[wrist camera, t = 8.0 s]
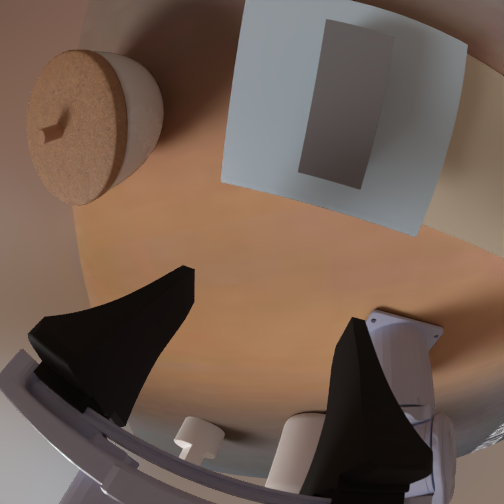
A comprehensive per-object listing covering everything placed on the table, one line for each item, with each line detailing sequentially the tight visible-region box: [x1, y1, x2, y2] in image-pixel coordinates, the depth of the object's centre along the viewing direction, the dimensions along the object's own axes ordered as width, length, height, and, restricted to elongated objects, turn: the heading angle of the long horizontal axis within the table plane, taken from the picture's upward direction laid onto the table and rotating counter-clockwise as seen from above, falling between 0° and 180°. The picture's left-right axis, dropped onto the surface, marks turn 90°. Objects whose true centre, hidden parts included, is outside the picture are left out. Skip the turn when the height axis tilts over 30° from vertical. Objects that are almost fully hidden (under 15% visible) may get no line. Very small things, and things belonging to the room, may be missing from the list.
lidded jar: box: [27, 50, 164, 205], centre depth 16 cm, size 11×11×9 cm
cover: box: [221, 0, 468, 237], centre depth 10 cm, size 11×11×4 cm
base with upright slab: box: [174, 417, 225, 466], centre depth 44 cm, size 9×9×12 cm
